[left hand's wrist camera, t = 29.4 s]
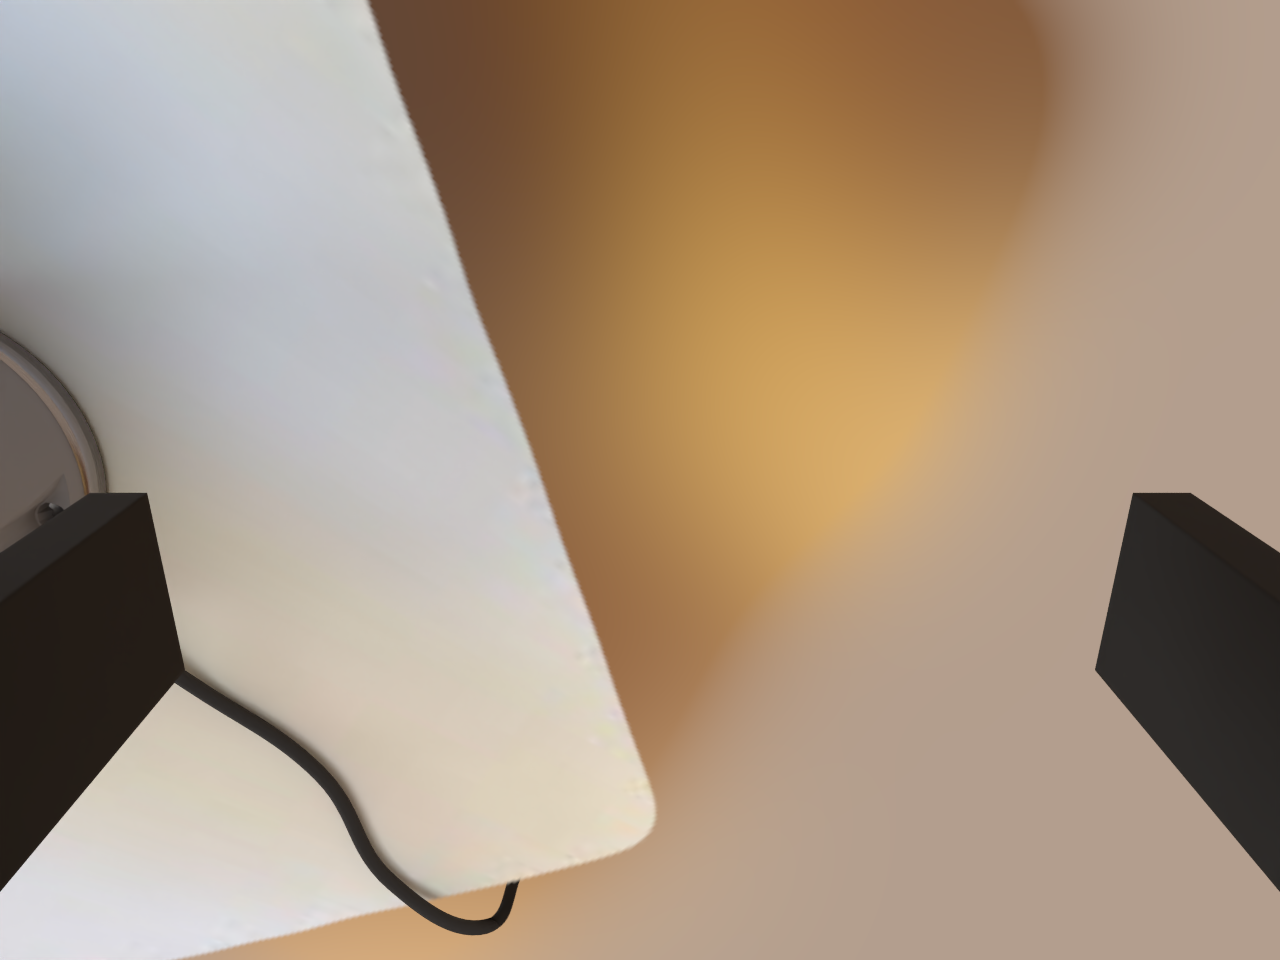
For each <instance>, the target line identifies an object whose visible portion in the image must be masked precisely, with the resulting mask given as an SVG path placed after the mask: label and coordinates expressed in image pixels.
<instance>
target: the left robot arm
mask: <svg viewBox="0 0 1280 960" xmlns="http://www.w3.org/2000/svg"><path fill="white" fill-rule="evenodd" d="M1095 670H1096V672H1097V673H1098V674H1099V675H1100V676H1101V678H1102V679H1103V680H1104V681H1105V682H1106V684H1107V685H1108V686H1109V687H1110V688H1111V690H1112V691H1113V692H1114V693H1115V694H1116V696H1117V697H1118V698H1119V699H1120V700H1121V702H1122V703H1123V704H1124V705H1125V706H1126V708H1127V709H1128V710H1129V711H1130V712H1131V714H1132V715H1133V716H1134V717H1135V718H1136V720H1137V721H1138V722H1139V723H1140V724H1141V726H1142V727H1143V728H1144V729H1145V730H1146V732H1147V733H1148V734H1149V735H1150V736H1151V738H1152V739H1153V740H1154V741H1155V742H1156V744H1157V745H1158V746H1159V747H1160V748H1161V750H1162V751H1163V752H1164V753H1165V754H1166V756H1167V757H1168V758H1169V759H1170V760H1171V762H1172V763H1173V764H1174V765H1175V766H1176V768H1177V769H1178V770H1179V771H1180V772H1181V774H1182V775H1183V776H1184V777H1185V778H1186V780H1187V781H1188V782H1189V783H1190V784H1191V786H1192V787H1193V788H1194V789H1195V790H1196V792H1197V793H1198V794H1199V795H1200V796H1201V798H1202V799H1203V800H1204V801H1205V802H1206V804H1207V805H1208V806H1209V807H1210V808H1211V810H1212V811H1213V812H1214V813H1215V814H1216V816H1217V817H1218V818H1219V819H1220V820H1221V822H1222V823H1223V824H1224V825H1225V826H1226V828H1227V829H1228V830H1229V831H1230V832H1231V834H1232V835H1233V836H1234V837H1235V838H1236V840H1237V841H1238V842H1239V843H1240V844H1241V846H1242V847H1243V848H1244V849H1245V850H1246V852H1247V853H1248V854H1249V855H1250V856H1251V858H1252V859H1253V860H1254V861H1255V862H1256V864H1257V865H1258V866H1259V867H1260V868H1261V870H1262V871H1263V872H1264V873H1265V874H1266V876H1267V877H1268V878H1269V879H1270V880H1271V882H1272V883H1273V884H1274V885H1275V886H1276V888H1277V889H1278V890H1279V891H1280V553H1279V552H1278V551H1276V550H1275V549H1273V548H1272V547H1270V546H1269V545H1267V544H1266V543H1264V542H1263V541H1261V540H1260V539H1258V538H1257V537H1255V536H1254V535H1252V534H1251V533H1249V532H1248V531H1246V530H1245V529H1244V528H1242V527H1241V526H1239V525H1238V524H1236V523H1235V522H1233V521H1232V520H1230V519H1229V518H1227V517H1226V516H1224V515H1223V514H1221V513H1220V512H1218V511H1217V510H1215V509H1214V508H1212V507H1211V506H1209V505H1208V504H1206V503H1205V502H1203V501H1202V500H1200V499H1199V498H1197V497H1196V496H1194V495H1193V494H1191V493H1133V496H1132V500H1131V505H1130V509H1129V514H1128V519H1127V523H1126V528H1125V533H1124V537H1123V542H1122V547H1121V551H1120V556H1119V561H1118V565H1117V570H1116V575H1115V579H1114V584H1113V589H1112V593H1111V598H1110V603H1109V607H1108V612H1107V617H1106V621H1105V626H1104V631H1103V635H1102V640H1101V645H1100V649H1099V654H1098V659H1097V664H1096V668H1095ZM174 683H176V684H177V685H179V686H180V687H182V688H183V689H185V690H187V691H188V692H190V693H191V694H193V695H194V696H196V697H197V698H199V699H200V700H202V701H203V702H205V703H207V704H208V705H210V706H212V707H213V708H215V709H216V710H218V711H220V712H221V713H223V714H225V715H226V716H228V717H230V718H231V719H233V720H235V721H236V722H238V723H239V724H241V725H243V726H244V727H246V728H248V729H249V730H251V731H253V732H254V733H256V734H257V735H259V736H260V737H262V738H264V739H265V740H267V741H268V742H270V743H271V744H273V745H274V746H275V747H277V748H278V749H280V750H281V751H282V752H284V753H285V754H286V755H288V756H289V757H290V758H291V759H293V760H294V761H295V762H296V763H297V764H299V765H300V766H301V767H302V768H303V769H304V770H305V771H306V772H308V773H309V774H310V775H311V776H312V777H313V778H314V779H315V780H316V781H317V782H318V784H319V785H320V786H321V787H322V788H323V789H324V790H325V792H326V793H327V794H328V796H329V797H330V798H331V800H332V801H333V803H334V805H335V806H336V808H337V810H338V812H339V814H340V815H341V817H342V820H343V822H344V824H345V826H346V828H347V830H348V832H349V835H350V837H351V839H352V841H353V843H354V845H355V847H356V849H357V851H358V853H359V854H360V856H361V858H362V859H363V861H364V862H365V864H366V865H367V867H368V868H369V869H370V871H371V872H372V873H373V874H374V875H375V877H376V878H377V879H378V880H379V881H380V882H381V883H382V884H383V885H384V886H385V887H386V888H387V889H389V890H390V891H391V892H392V893H393V894H394V895H396V896H397V897H398V898H399V899H400V900H402V901H403V902H404V903H405V904H407V905H408V906H409V907H410V908H412V909H413V910H414V911H416V912H417V913H419V914H420V915H421V916H423V917H424V918H426V919H428V920H429V921H431V922H432V923H434V924H436V925H438V926H440V927H442V928H444V929H447V930H449V931H452V932H455V933H459V934H464V935H482V934H487V933H490V932H492V931H494V930H496V929H498V928H499V927H501V926H502V925H503V924H504V923H505V921H506V920H507V918H508V916H509V914H510V912H511V909H512V906H513V903H514V899H515V895H516V892H517V888H518V884H519V882H520V879H519V880H516V881H511V882H508V883H507V884H506V888H505V891H504V895H503V898H502V901H501V904H500V906H499V908H498V910H497V912H496V913H495V914H494V915H493V916H492V917H491V918H488V919H484V920H465V919H461V918H457V917H454V916H452V915H450V914H447V913H445V912H443V911H442V910H440V909H438V908H436V907H435V906H433V905H432V904H430V903H429V902H427V901H426V900H424V899H423V898H422V897H420V896H419V895H418V894H417V893H415V892H414V891H413V890H412V889H410V888H409V887H408V886H407V885H406V884H404V883H403V882H402V881H401V880H400V879H398V878H397V877H396V876H395V875H394V874H393V873H392V872H391V871H390V870H389V869H388V868H387V867H386V866H385V865H384V864H383V862H382V861H381V860H380V858H379V857H378V856H377V854H376V853H375V851H374V849H373V847H372V846H371V844H370V842H369V840H368V838H367V836H366V834H365V831H364V829H363V827H362V825H361V823H360V820H359V818H358V816H357V814H356V812H355V810H354V808H353V806H352V804H351V802H350V800H349V799H348V797H347V795H346V794H345V792H344V791H343V789H342V788H341V787H340V785H339V784H338V783H337V781H336V780H335V779H334V778H333V776H332V775H331V774H330V773H329V772H328V771H327V770H326V769H325V768H324V767H323V766H322V765H321V764H320V763H319V762H318V761H317V760H316V759H315V758H314V757H313V756H312V755H310V754H309V753H308V752H307V751H306V750H305V749H303V748H302V747H301V746H300V745H299V744H297V743H296V742H295V741H293V740H292V739H291V738H289V737H288V736H287V735H285V734H284V733H282V732H281V731H280V730H278V729H277V728H275V727H274V726H272V725H271V724H269V723H267V722H266V721H264V720H263V719H261V718H259V717H258V716H256V715H255V714H253V713H251V712H250V711H248V710H246V709H245V708H243V707H242V706H240V705H238V704H237V703H235V702H233V701H232V700H230V699H228V698H227V697H225V696H224V695H222V694H220V693H219V692H217V691H216V690H214V689H212V688H211V687H209V686H208V685H206V684H205V683H203V682H202V681H200V680H199V679H197V678H196V677H194V676H193V675H191V674H190V673H188V672H187V671H185V668H184V663H183V659H182V654H181V649H180V645H179V640H178V635H177V631H176V626H175V621H174V617H173V612H172V607H171V603H170V598H169V593H168V589H167V584H166V579H165V575H164V570H163V565H162V561H161V556H160V551H159V547H158V542H157V537H156V533H155V528H154V523H153V519H152V514H151V509H150V505H149V500H148V495H147V493H106V481H105V472H104V468H103V463H102V459H101V455H100V452H99V449H98V446H97V443H96V440H95V438H94V436H93V434H92V431H91V429H90V427H89V425H88V423H87V421H86V419H85V417H84V416H83V414H82V412H81V410H80V409H79V407H78V406H77V404H76V403H75V401H74V400H73V398H72V397H71V396H70V394H69V393H68V392H67V390H66V389H65V388H64V387H63V385H62V384H61V383H60V382H59V381H58V380H57V379H56V377H55V376H54V375H53V374H52V373H51V372H50V371H49V370H48V369H47V368H46V367H45V366H44V365H43V364H42V363H41V362H40V361H39V360H37V359H36V358H35V357H34V356H33V355H32V354H30V353H29V352H28V351H27V350H25V349H24V348H23V347H22V346H20V345H19V344H17V343H16V342H14V341H13V340H11V339H10V338H9V337H7V336H6V335H4V334H2V333H0V891H1V890H2V889H3V888H4V886H5V885H6V884H7V883H8V882H9V880H10V879H11V878H12V877H13V876H14V874H15V873H16V872H17V871H18V870H19V868H20V867H21V866H22V865H23V864H24V862H25V861H26V860H27V859H28V858H29V856H30V855H31V854H32V853H33V852H34V850H35V849H36V848H37V847H38V846H39V844H40V843H41V842H42V841H43V840H44V838H45V837H46V836H47V835H48V834H49V832H50V831H51V830H52V829H53V828H54V826H55V825H56V824H57V823H58V822H59V820H60V819H61V818H62V817H63V816H64V814H65V813H66V812H67V811H68V810H69V808H70V807H71V806H72V805H73V804H74V802H75V801H76V800H77V799H78V798H79V796H80V795H81V794H82V793H83V792H84V790H85V789H86V788H87V787H88V786H89V784H90V783H91V782H92V781H93V780H94V778H95V777H96V776H97V775H98V774H99V772H100V771H101V770H102V769H103V768H104V766H105V765H106V764H107V763H108V762H109V760H110V759H111V758H112V757H113V756H114V754H115V753H116V752H117V751H118V750H119V748H120V747H121V746H122V745H123V744H124V742H125V741H126V740H127V739H128V738H129V736H130V735H131V734H132V733H133V732H134V730H135V729H136V728H137V727H138V726H139V724H140V723H141V722H142V721H143V720H144V718H145V717H146V716H147V715H148V714H149V712H150V711H151V710H152V709H153V708H154V706H155V705H156V704H157V703H158V702H159V700H160V699H161V698H162V697H163V696H164V694H165V693H166V692H167V691H168V690H169V688H170V687H171V686H172V685H173V684H174Z"/></svg>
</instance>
